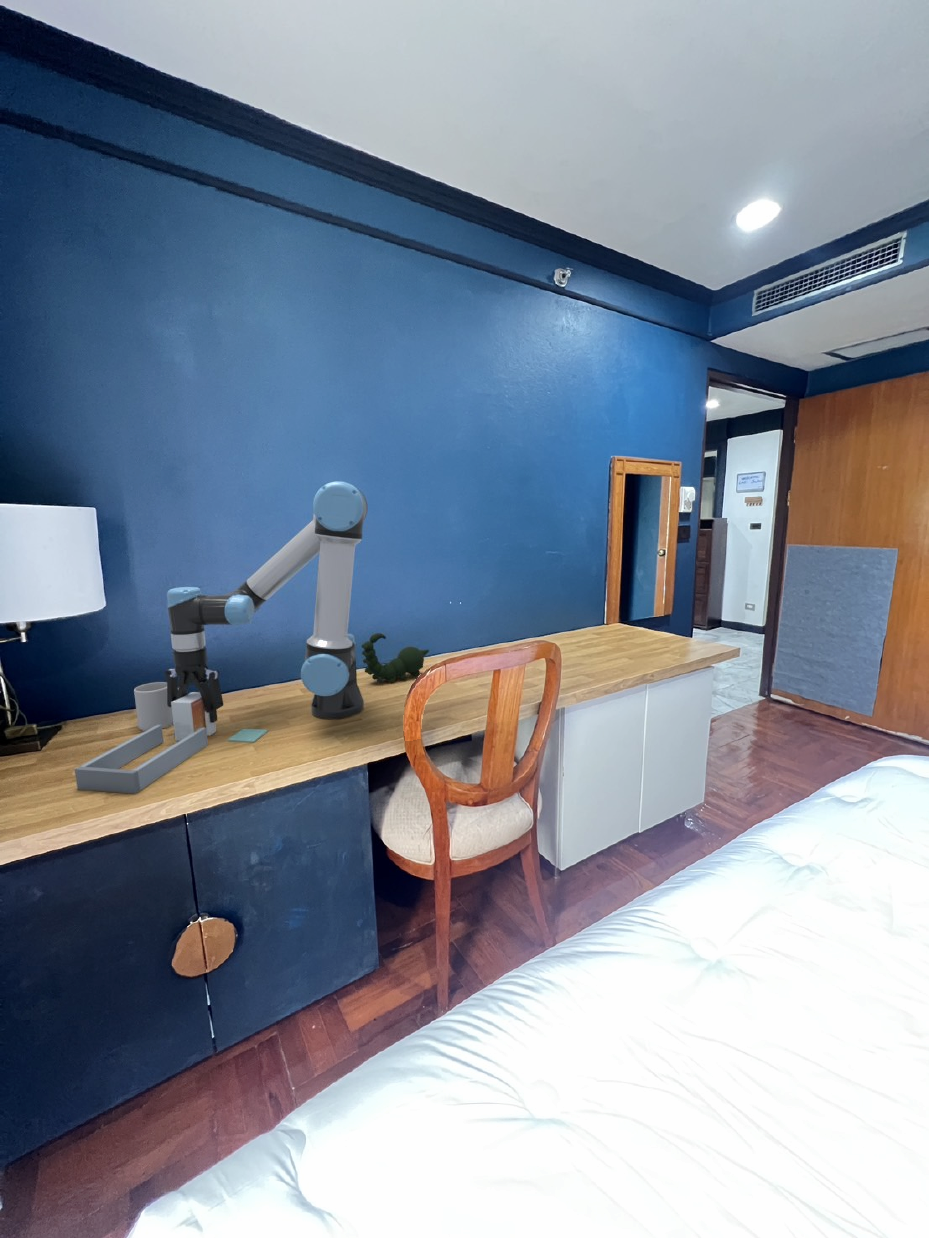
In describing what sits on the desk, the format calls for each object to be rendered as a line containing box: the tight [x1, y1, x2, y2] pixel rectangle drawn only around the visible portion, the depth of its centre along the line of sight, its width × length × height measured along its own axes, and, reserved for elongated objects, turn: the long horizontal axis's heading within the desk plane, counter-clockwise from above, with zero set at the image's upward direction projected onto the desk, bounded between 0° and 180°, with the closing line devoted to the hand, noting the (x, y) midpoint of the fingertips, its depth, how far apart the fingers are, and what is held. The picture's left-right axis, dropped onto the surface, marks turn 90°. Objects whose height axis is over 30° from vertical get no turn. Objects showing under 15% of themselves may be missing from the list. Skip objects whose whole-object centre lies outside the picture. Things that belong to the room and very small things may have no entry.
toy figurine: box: [361, 632, 430, 684], centre depth 175 cm, size 9×19×25 cm
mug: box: [133, 681, 174, 732], centre depth 136 cm, size 12×8×11 cm
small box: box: [171, 691, 207, 742], centre depth 129 cm, size 8×6×10 cm
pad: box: [227, 728, 269, 744], centre depth 129 cm, size 7×7×1 cm
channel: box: [74, 725, 209, 795], centre depth 113 cm, size 13×23×4 cm, turn 172°
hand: (198, 732), depth 131 cm, fingers open, 7 cm apart
